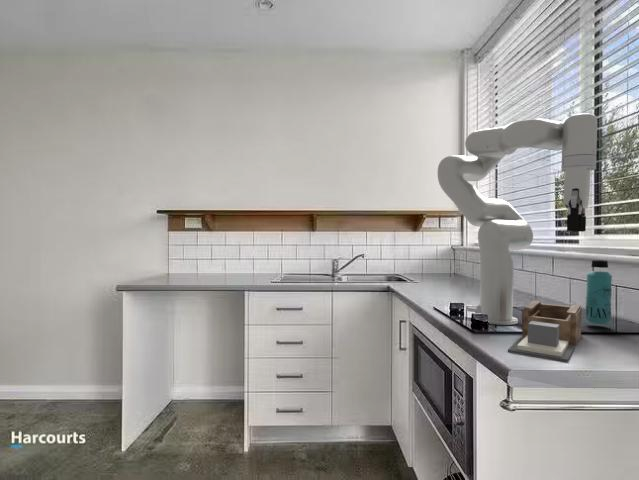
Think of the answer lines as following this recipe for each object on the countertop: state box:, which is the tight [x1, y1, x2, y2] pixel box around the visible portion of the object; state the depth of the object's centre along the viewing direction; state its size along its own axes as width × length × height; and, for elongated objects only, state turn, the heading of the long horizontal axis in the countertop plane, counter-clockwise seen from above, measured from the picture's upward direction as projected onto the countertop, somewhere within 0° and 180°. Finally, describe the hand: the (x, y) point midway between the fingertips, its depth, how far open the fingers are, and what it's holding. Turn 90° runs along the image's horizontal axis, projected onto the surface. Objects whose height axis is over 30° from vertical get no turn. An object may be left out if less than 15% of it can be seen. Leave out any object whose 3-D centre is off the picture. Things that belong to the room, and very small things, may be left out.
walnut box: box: [521, 300, 583, 348], centre depth 111 cm, size 12×14×8 cm
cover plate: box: [517, 321, 568, 357], centre depth 99 cm, size 9×12×6 cm
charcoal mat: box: [507, 337, 576, 363], centre depth 98 cm, size 12×14×1 cm
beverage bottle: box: [584, 259, 613, 325], centre depth 124 cm, size 6×7×20 cm
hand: (576, 231), depth 107 cm, fingers open, 9 cm apart
